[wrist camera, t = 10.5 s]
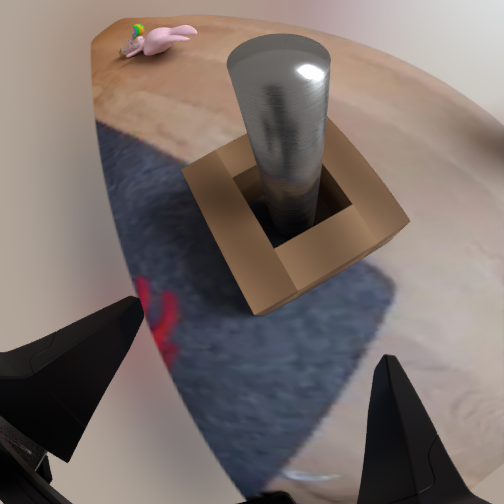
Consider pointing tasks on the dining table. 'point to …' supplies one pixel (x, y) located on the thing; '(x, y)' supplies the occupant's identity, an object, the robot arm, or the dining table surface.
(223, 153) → the walnut square frame
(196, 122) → the dining table surface
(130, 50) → the rabbit figure
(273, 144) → the steel rod
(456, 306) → the dining table surface
